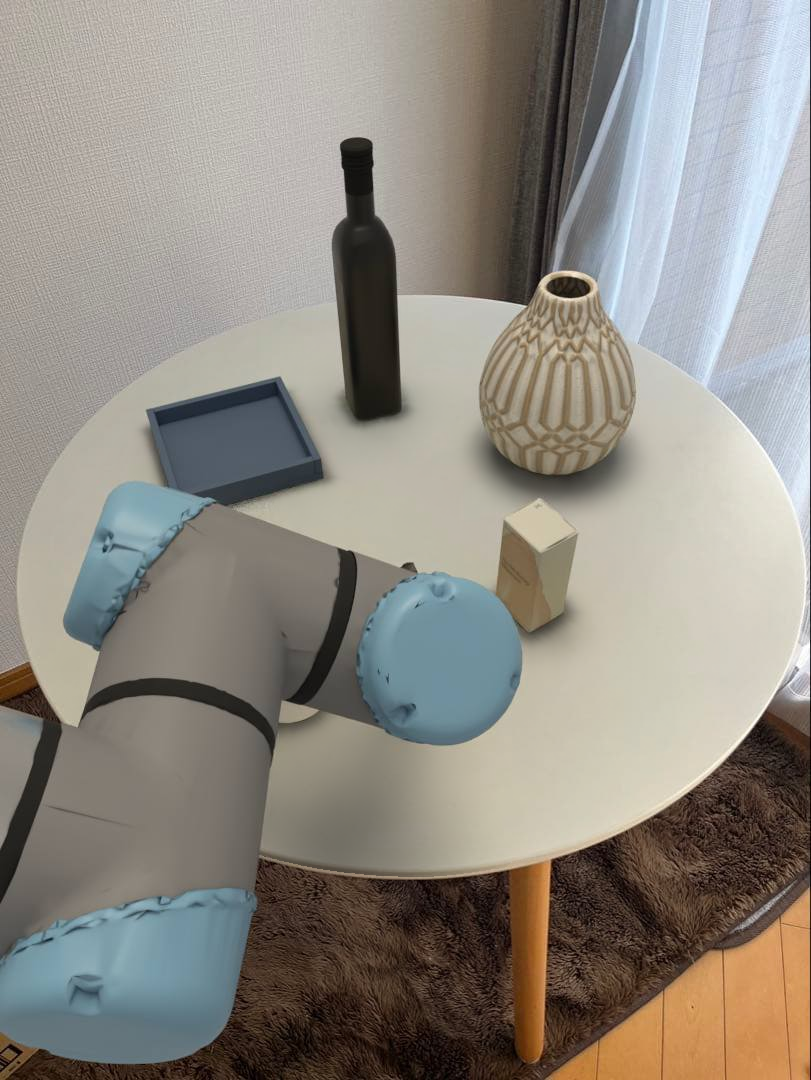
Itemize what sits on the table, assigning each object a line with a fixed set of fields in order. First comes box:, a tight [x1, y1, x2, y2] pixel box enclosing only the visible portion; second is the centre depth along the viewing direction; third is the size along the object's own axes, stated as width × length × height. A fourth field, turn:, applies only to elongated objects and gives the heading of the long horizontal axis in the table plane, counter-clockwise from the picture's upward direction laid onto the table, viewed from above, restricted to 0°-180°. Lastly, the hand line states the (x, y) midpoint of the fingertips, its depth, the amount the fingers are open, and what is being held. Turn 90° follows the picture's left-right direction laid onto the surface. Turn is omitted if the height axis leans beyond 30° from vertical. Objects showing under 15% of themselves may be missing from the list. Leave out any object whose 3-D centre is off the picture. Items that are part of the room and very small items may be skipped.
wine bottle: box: [331, 136, 403, 421], centre depth 93 cm, size 6×6×30 cm
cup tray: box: [145, 375, 325, 506], centre depth 98 cm, size 16×16×3 cm
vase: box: [478, 270, 637, 476], centre depth 90 cm, size 16×16×20 cm
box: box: [495, 497, 579, 633], centre depth 79 cm, size 5×4×11 cm
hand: (277, 629), depth 72 cm, fingers open, 13 cm apart
